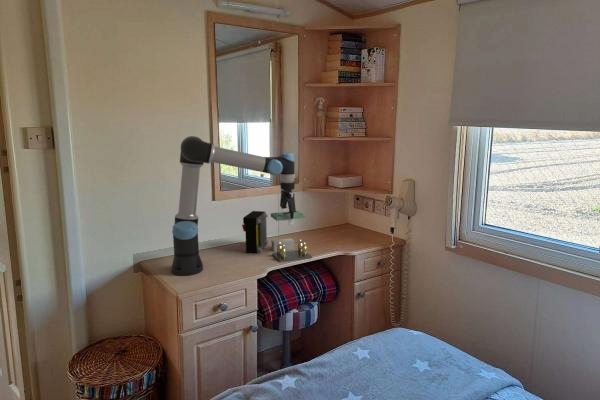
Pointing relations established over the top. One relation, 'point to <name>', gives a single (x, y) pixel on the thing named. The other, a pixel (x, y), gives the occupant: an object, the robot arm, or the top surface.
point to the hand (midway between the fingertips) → (287, 222)
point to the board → (286, 215)
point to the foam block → (286, 242)
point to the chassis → (292, 253)
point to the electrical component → (255, 231)
